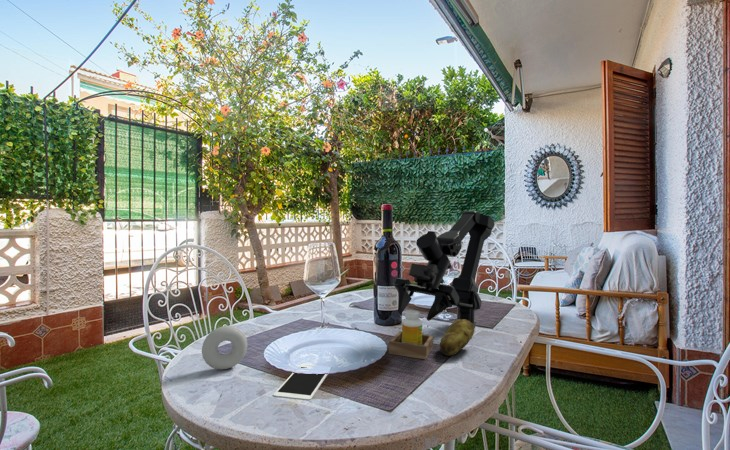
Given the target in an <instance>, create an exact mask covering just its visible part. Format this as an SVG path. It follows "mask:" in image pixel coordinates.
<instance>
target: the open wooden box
mask: <svg viewBox="0 0 730 450" xmlns="http://www.w3.org/2000/svg"><path fill="white" fill-rule="evenodd" d="M433 349H434V335H430V334H423V333H422V345H416V344H409V343H402V330H401V331H400V330H399V331H398V332H397V333H396V334H395V335H394V336H393V337H392V338H391V340H389V341H388V354H389V355H395V356H401V357H408V358H413V359H419V360H420V359H422V360H427V359H428V358H429V355H430V354H431V351H432V350H433ZM426 358H427V359H426Z"/></svg>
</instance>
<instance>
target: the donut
mask: <svg viewBox="0 0 730 450" xmlns="http://www.w3.org/2000/svg"><path fill="white" fill-rule="evenodd" d="M247 339H248V338H247V336H246V334H245V333H244V331H242V330H241V329H240V328H238V327H235V326H232V325H223V326H220V327H217V328H215V329H213V330H211V331H210V332H209V334H208V335H206V337H205V339H204V340H203V342H202V346H201V347H202V348H201V355H202V359H203V361H204V362H205V364H206V365H208V366H209V367H210V368H212V369H216V370H228V369H230V368H233V367H235V366H236V365H238V364H239V363H240V362H241V361H242V360H243V359H244V357H245V355H246V353H247V351H248V345H249V344H248V340H247ZM223 342H229V343H231V345H232V348H231V349H230V351H229V352H226V353H220V352H219V351H218V350H219V349H218V348H219V345H220V344H222V343H223Z"/></svg>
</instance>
